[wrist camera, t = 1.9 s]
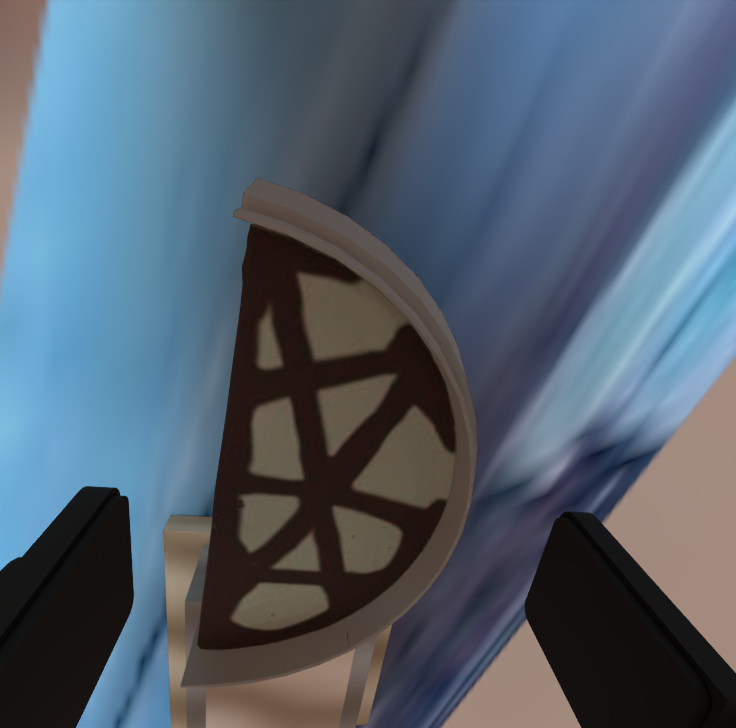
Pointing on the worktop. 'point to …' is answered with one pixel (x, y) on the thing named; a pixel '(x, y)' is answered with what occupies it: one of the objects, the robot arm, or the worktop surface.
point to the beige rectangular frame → (265, 698)
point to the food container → (329, 448)
